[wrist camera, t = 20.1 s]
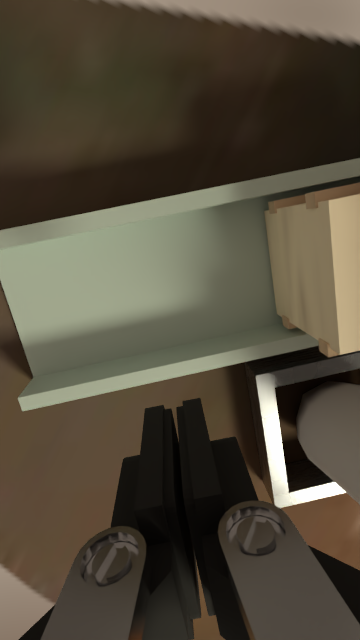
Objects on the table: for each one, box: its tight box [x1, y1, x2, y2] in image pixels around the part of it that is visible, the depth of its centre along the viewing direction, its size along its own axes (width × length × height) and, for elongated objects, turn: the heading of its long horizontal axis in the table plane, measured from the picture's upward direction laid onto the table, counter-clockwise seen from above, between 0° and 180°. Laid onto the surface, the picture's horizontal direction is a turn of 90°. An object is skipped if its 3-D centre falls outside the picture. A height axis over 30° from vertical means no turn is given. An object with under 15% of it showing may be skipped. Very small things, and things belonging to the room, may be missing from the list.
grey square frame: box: [244, 346, 360, 508], centre depth 22 cm, size 10×10×2 cm
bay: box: [0, 158, 360, 411], centre depth 18 cm, size 23×9×4 cm, turn 101°
